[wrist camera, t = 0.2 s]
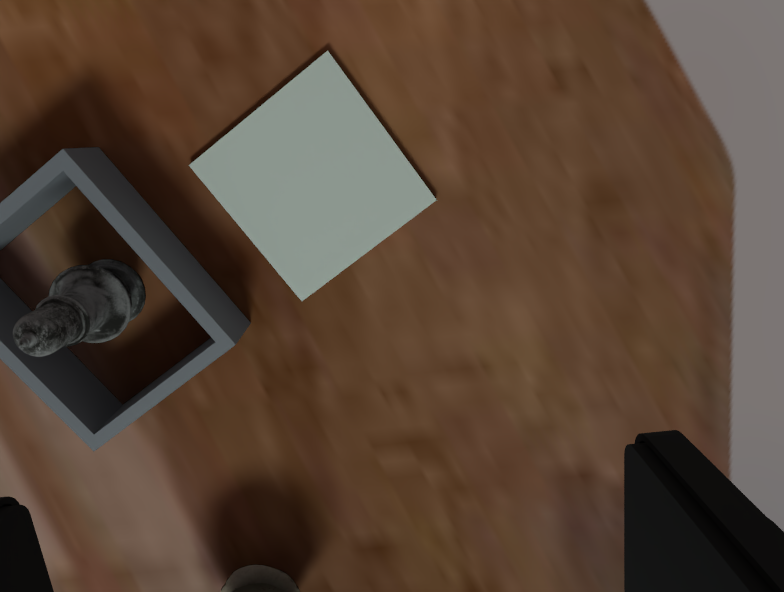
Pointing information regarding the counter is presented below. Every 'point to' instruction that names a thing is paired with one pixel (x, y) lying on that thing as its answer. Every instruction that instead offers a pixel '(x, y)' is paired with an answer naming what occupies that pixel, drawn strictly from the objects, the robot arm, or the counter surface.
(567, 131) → the counter surface
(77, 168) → the crate
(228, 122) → the counter surface
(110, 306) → the stone chess piece
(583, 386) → the counter surface
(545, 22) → the counter surface
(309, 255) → the mat
